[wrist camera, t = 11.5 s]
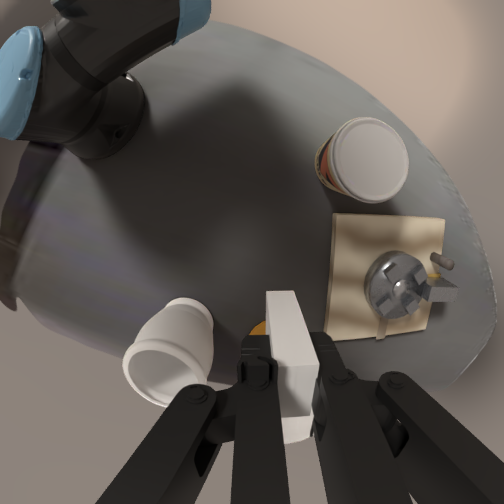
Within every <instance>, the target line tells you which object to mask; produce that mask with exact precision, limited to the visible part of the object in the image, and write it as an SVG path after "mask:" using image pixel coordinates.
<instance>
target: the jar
mask: <svg viewBox="0 0 504 504" xmlns="http://www.w3.org/2000/svg"><path fill="white" fill-rule="evenodd" d="M212 331H213V318H212V316H211V314H210V312H209V310H208V309H207V308H206V307H205V306H204V305H203V304H201V303H200V302H198V301H196V300H194V299H191V298H177V299H174V300H172V301H171V302H169V303H168V304H167V305H166V307H165V308H164V309H162V310H161V311H159V312H158V313H157V314H156V315H155V316H153V317H152V318H151V319H150V320H149V321H148V322H147V323H146V324H145V325H144V326H143V327H142V329H141V330H140V332H139V334H138V335H137V337H136V340H135V342H134V344H133V345H131V346H130V347H129V348H128V349H127V351H126V353H125V355H124V357H123V363H122V366H123V371H124V375H125V377H126V379H127V381H128V382H129V384H130V385H131V386H132V388H133V389H135V391H136V392H138V393H139V394H140V395H141V396H142V397H144V398H145V399H147V400H149V401H150V402H153V403H155V404H157V405H160V406H163V407H168V405H169V404H170V403H171V401H172V400H173V398H174V397H175V396H176V394H177V393H178V392H179V391H180V390H181V389H182V388H183V387H185V386H188V385H191V384H204V385H207V377H208V374H209V372H210V369H211V366H212V362H213V354H214V346H213V333H212Z"/></svg>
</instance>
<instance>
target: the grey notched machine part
mask: <svg viewBox="0 0 504 504" xmlns="http://www.w3.org/2000/svg"><path fill="white" fill-rule="evenodd" d="M458 290H459V287H457V286H456V285H454V284H452V283H451V282H449V281H447V280H446V279H444V278H440V277H428V275H427V272H426V270H425V268H424V266H423V264H422V263H421V262H420V261H419V260H418V259H417V258H415V257H413V256H411V255H409V254H407V253H406V252H403V251H399V250H394V251H389V252H386V253H384V254H382V255H381V256H379V257H378V258H377V259H376V260H375V261H374V262H373V263H372V265H371V266H370V268H369V269H368V271H367V274H366V276H365V280H364V294H365V297H366V300H367V301H368V303H369V304H370V305H371V306H372V308H373V309H374V310H375V311H376V312H377V313H378V314H379V315H380V316H382V317H384V318H387V319H397V318H401V317H403V316H405V315H407V314H409V315H410V316H411V315H412V314H413V313H414V312H415V311H416V310H417V309H419V308H420V307H419V305H418V304H419V302H420V301H421V299H422V298H423V299H425V300H426V301H427V302H455V300H456V297H457V294H458Z"/></svg>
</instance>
